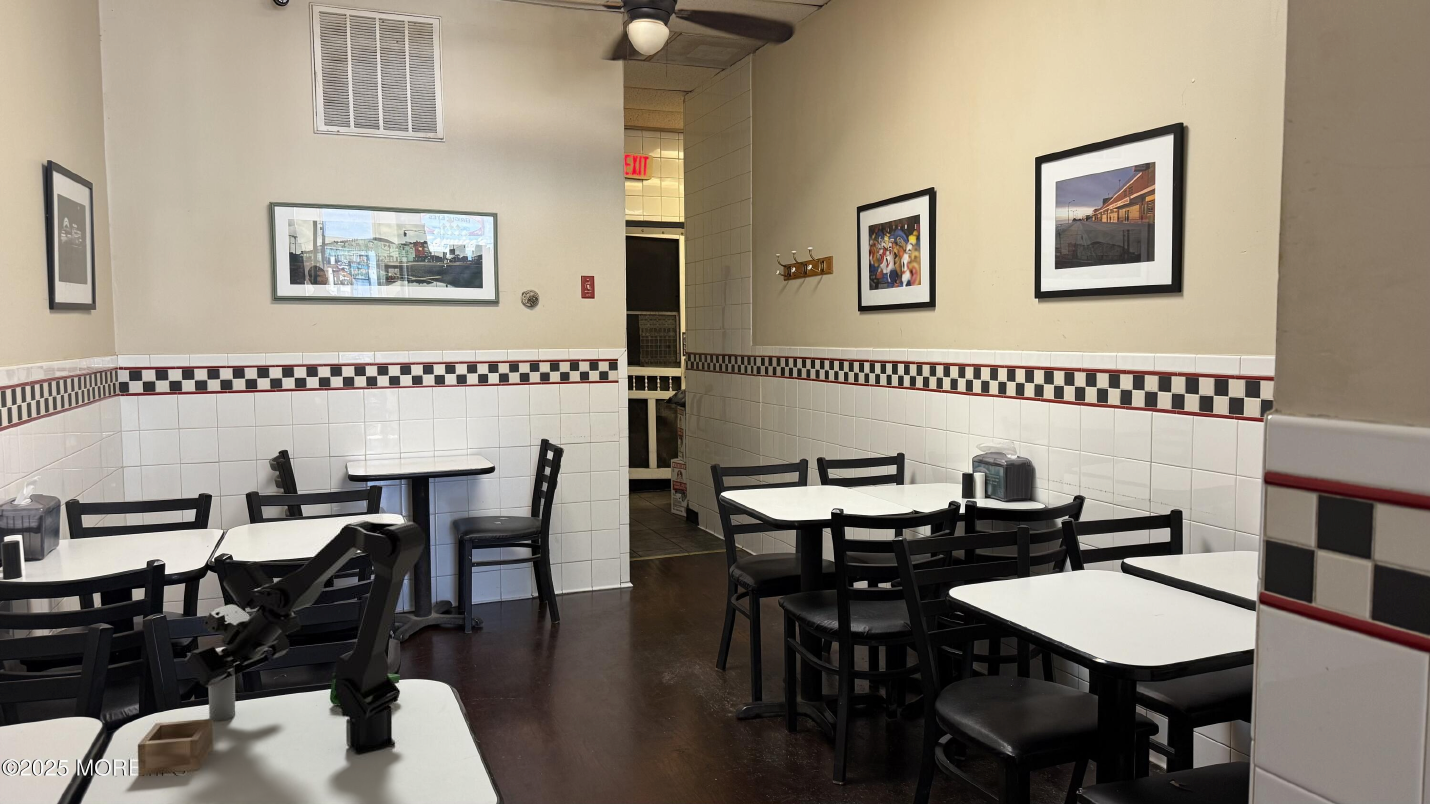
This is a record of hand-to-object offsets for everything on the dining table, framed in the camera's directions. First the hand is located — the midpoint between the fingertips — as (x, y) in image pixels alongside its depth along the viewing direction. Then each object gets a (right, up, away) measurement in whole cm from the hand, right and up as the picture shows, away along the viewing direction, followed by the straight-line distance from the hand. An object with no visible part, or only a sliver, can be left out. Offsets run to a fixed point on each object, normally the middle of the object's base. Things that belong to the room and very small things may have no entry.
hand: (215, 680), depth 169 cm
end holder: (+3, -8, -18) cm, 20 cm away
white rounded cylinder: (+1, -7, 0) cm, 7 cm away
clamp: (+25, -7, +8) cm, 27 cm away
